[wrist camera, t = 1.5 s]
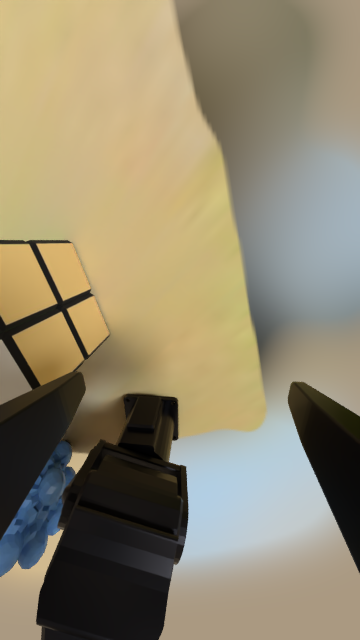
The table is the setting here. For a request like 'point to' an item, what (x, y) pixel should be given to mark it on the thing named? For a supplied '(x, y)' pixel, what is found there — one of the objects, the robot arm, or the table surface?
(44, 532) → the grapes
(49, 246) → the puzzle cube
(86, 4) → the table surface
